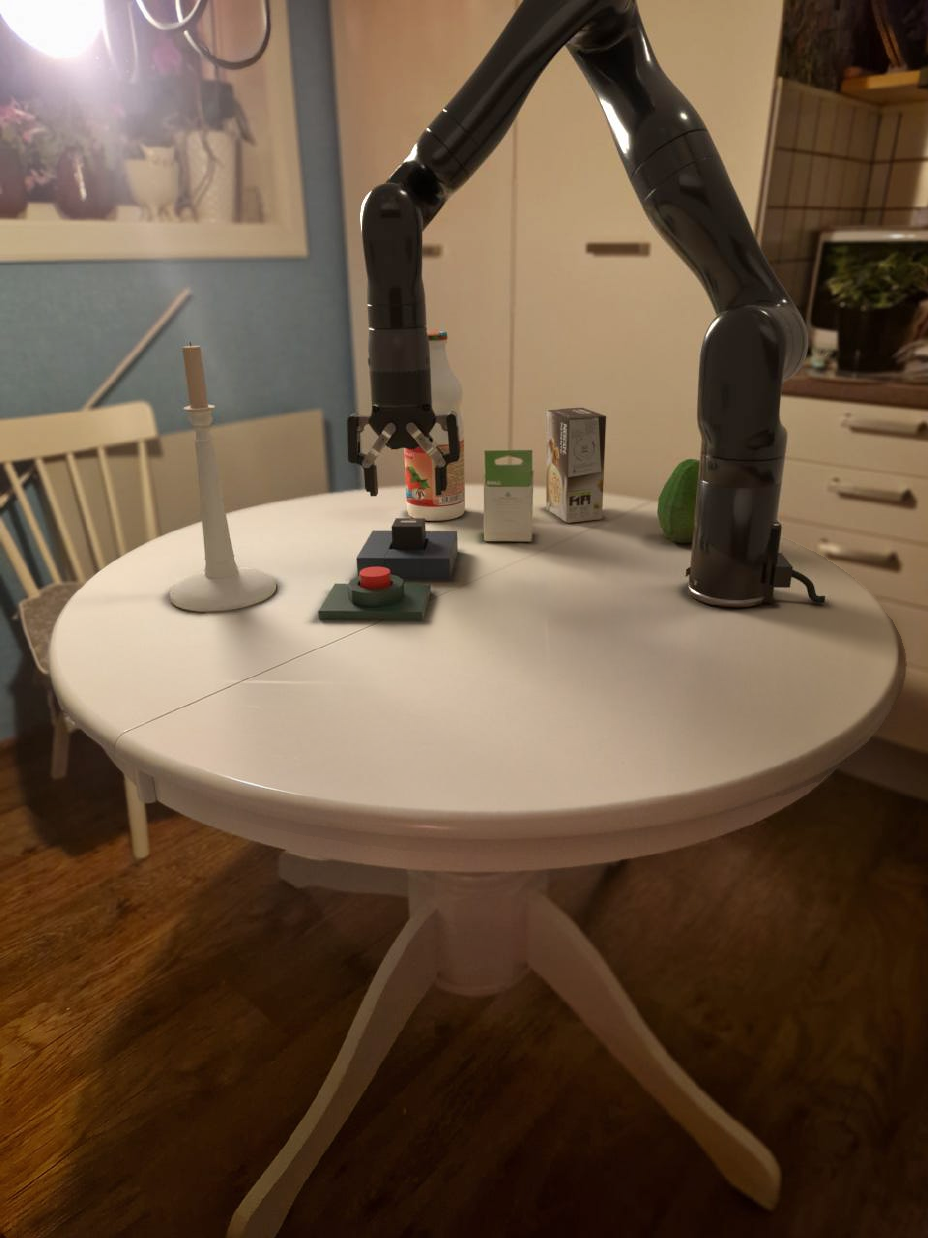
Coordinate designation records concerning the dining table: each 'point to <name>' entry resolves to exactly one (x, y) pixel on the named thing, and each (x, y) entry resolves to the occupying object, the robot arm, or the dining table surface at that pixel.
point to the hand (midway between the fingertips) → (406, 494)
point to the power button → (375, 578)
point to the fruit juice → (420, 463)
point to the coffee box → (575, 464)
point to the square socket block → (411, 556)
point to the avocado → (679, 502)
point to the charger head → (409, 534)
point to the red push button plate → (376, 601)
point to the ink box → (508, 496)
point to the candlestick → (213, 519)
